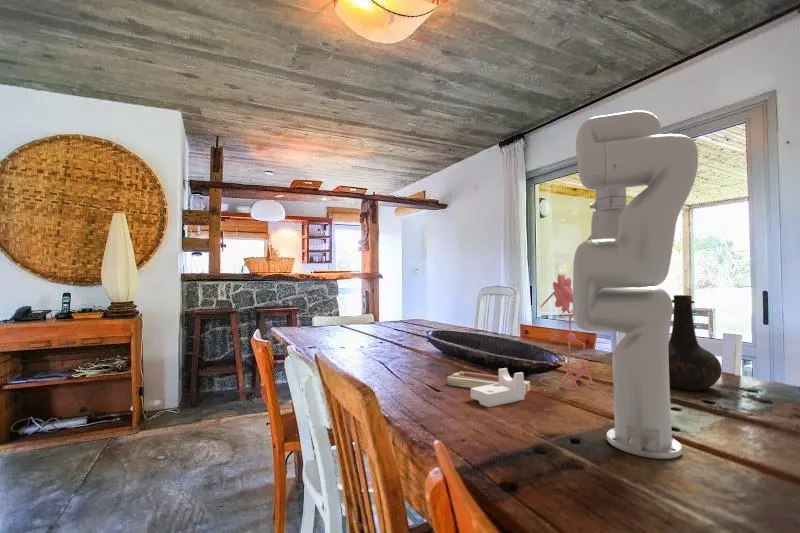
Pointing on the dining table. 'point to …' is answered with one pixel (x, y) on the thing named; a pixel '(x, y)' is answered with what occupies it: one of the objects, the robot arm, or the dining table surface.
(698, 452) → the dining table surface
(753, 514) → the dining table surface
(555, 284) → the figurine
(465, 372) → the pencil
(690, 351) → the glass bottle
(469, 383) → the board
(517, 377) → the bracket
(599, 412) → the dining table surface
